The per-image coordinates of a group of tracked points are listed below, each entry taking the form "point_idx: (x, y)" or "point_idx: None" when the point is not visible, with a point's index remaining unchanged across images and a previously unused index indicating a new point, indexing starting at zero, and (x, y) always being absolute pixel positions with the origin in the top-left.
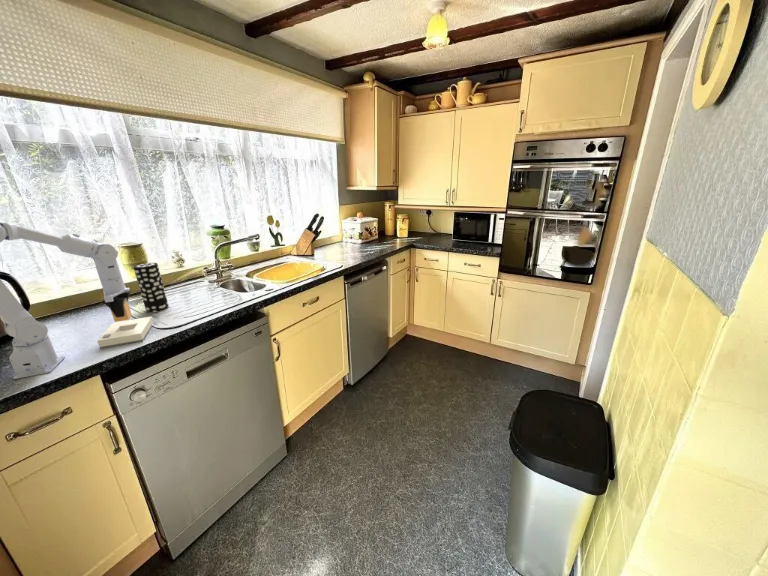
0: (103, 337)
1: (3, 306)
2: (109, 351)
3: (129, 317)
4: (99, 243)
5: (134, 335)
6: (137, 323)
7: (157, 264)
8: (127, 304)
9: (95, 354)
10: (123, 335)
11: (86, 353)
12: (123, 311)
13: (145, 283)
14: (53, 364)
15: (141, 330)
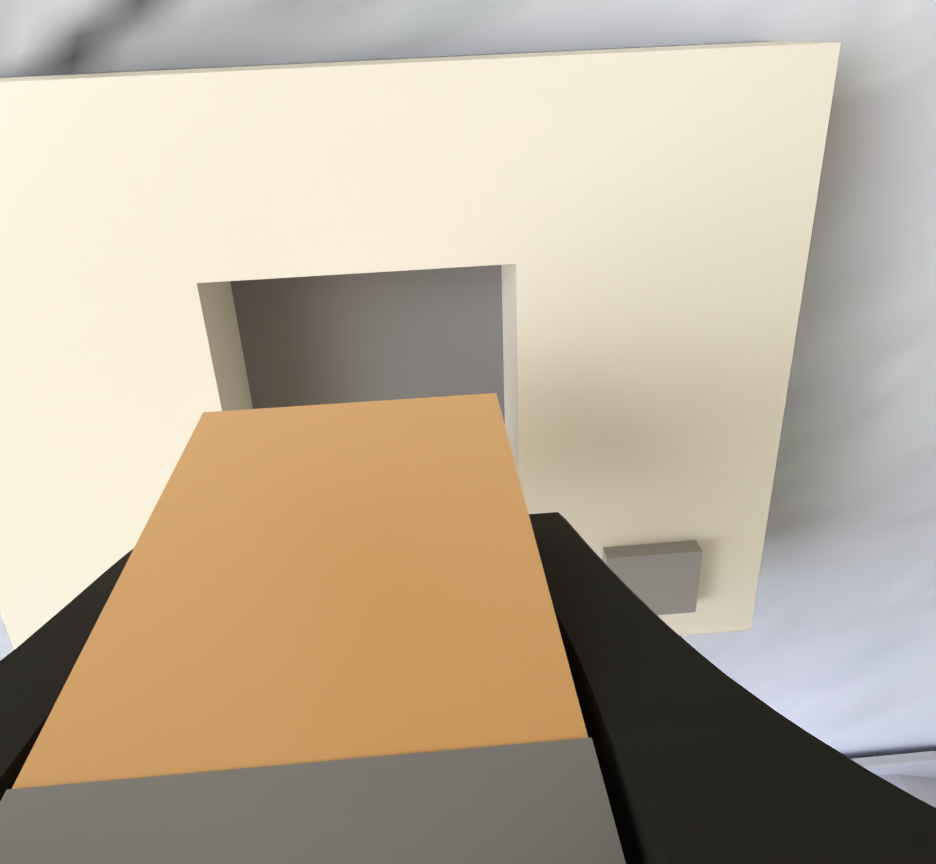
0: (696, 596)
1: None
2: (864, 420)
3: (405, 412)
4: None
5: (809, 166)
6: (196, 293)
7: None
8: (181, 654)
9: (852, 539)
10: (752, 348)
11: (758, 634)
12: (615, 574)
13: None
14: (925, 780)
15: (669, 81)
